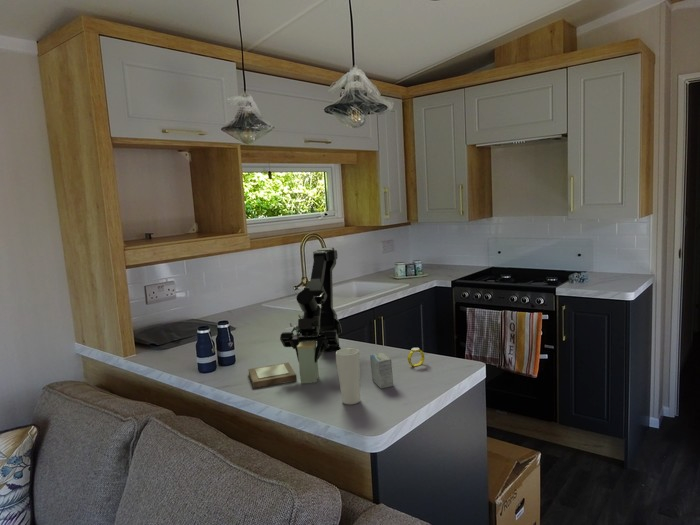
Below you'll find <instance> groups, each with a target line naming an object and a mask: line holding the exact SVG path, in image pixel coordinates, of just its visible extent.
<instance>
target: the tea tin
mask: <svg viewBox="0 0 700 525" xmlns="http://www.w3.org/2000/svg"><path fill="white" fill-rule="evenodd" d="M316 347H317V341H307V342H300V343H299V344H298V346H297V349H298V358H297V360H298V359H299V362H298V368H299V378H300V384H313V383H312V382H316V381H317V382H318V380H319V379H320V375H319V374H320V373H319V363H318V361H319V360H318V361H317V362H316V363H315V353H316ZM317 379H318V380H317ZM317 382H316V383H317Z"/></svg>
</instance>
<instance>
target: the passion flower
mask: <svg viewBox="0 0 700 525" xmlns="http://www.w3.org/2000/svg"><path fill="white" fill-rule="evenodd" d="M303 316H304V314H302V316H301V314H298V319H303ZM289 326H290V328H292V330H291V331H290V332H293V333H294V331H296V333H295V335H299V334H300V332H299V330H300V329H298V324H296V326H294V325H292V323H291V322H290V323H289Z"/></svg>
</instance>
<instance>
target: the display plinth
mask: <svg viewBox="0 0 700 525" xmlns="http://www.w3.org/2000/svg"><path fill="white" fill-rule="evenodd" d="M248 376H249V378H250V381H252V382H251V384H252V387H253V389H256V387H258V388H262V387H261V386H263V387H268V386H267V385H269V386H274V385H273V384H275V385H279V383H280V384H285V383H284V382H286V383H290V381H291V382H295V381H296V380H297V379H298V378H297V373H296V372H295V370H294V369H293V367H292V366H291V364H290V362H282V363H276V364H271V365H266V366H265V365H264V366H258V367H254V368H253V367H252V368H248Z"/></svg>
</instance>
